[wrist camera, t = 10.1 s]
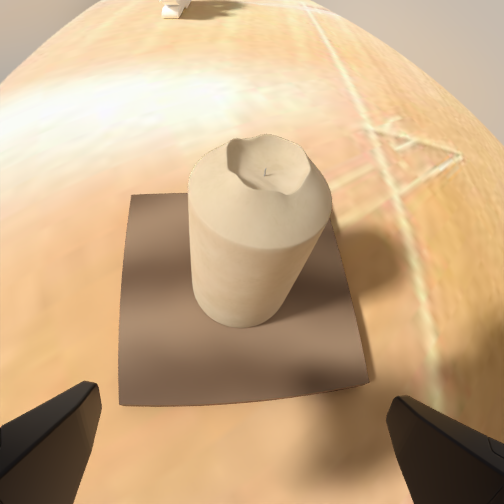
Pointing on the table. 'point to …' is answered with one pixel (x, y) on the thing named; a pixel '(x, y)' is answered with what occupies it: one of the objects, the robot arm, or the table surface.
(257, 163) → the candle
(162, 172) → the table surface
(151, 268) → the walnut slab
